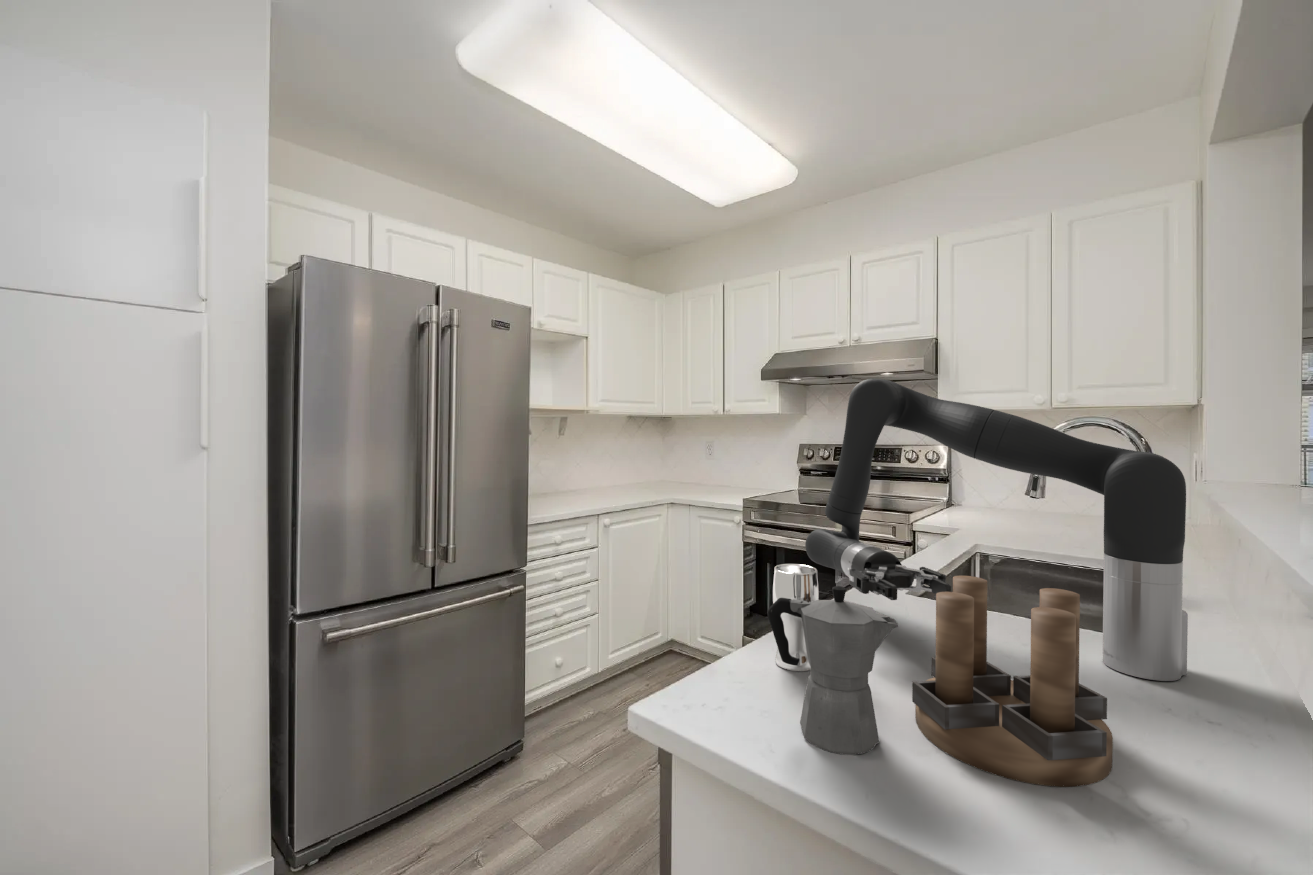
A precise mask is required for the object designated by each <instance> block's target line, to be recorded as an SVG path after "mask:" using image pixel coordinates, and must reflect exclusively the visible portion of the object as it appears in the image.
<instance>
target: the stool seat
mask: <svg viewBox="0 0 1313 875" xmlns="http://www.w3.org/2000/svg"><path fill="white" fill-rule="evenodd" d="M1080 600H1081V594H1080V593H1077V592H1075V591H1072V590H1066V589H1063V588H1062V589H1061V588H1054V587H1053V588H1052V587H1051V588H1050V587H1044V588H1043V587H1042V588H1040V589H1039V606H1035V607H1032V608H1031V609H1030V669H1029V670H1030V675H1013V676H1012V675H1011V674H1009V673H1008V672H1006V671H1004V670H1002V669H1001V668H999V667H997V666H995V665H994V664H992V663H990V662H989V661H987V675H978V676H973V667H974V598H973V597H972V596H969V595H966V594H962V593H957V592H953V591H951V592H939V593H937V594H935V656H931V669H930V670H931V672H930V674H931V676H932V677H931V678H928V679H926V680H920V681H919V680H917V681H916V680H915V681H912V686H911V688H912V694H911V695H912V696H911V698H912V700H911V701H912V703H913V704H914V705H915V706H914V707H915V711H914V714H915V715H914V716H915V724H916V725H917V727H918V729H919V731H920V732H921V734H922V735H923V736H924V737H925V738H926V739H927V740H928V741H929V742H931V744H933V745H934V746H935V747H937V748H938V749H939V750H941V751H943V752H944V753H946V754H948V755H949V756H951V757H952V758H954V759H956V760H958V761H961V762H962V763H964V764H965V765H969V766H971V767H972V768H973V767H974V768H975V769H978V770H980V771H984V772H987V773H990V774H992V775H994V776H995V775H996V776H998V777H1001V778H1005V779H1009V780H1013V781H1017V782H1020V783H1027V784H1031V785H1036V786H1045V787H1057V788H1058V787H1062V788H1066V787H1067V788H1069V787H1070V788H1072V787H1073V788H1075V787H1082V786H1083V787H1084V786H1089V785H1093V784H1097V783H1099V782H1100V781H1103V780H1104V779H1105V778H1107V777H1108V776H1110V774H1111V772H1112V770H1113V757H1114V756H1113V752H1114V751H1113V750H1114V749H1113V747H1114V744H1113V743H1114V742H1113V740H1114V738H1113V734H1112V730H1111V728H1110V727H1109V725H1108V724H1107V723H1106V722H1105V721H1104V720H1107V719H1108V697H1106V696H1104V695H1103V694H1100V693H1098V692H1096V691H1095V690H1093V689H1091V688H1090V687H1087V686H1085V685H1083V684H1082V683H1080V629H1081V628H1080V627H1081V626H1080V621H1081V616H1080V615H1081V614H1080V613H1081V612H1080V610H1081V608H1080V607H1081V601H1080ZM1012 677H1013V679H1012Z"/></svg>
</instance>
